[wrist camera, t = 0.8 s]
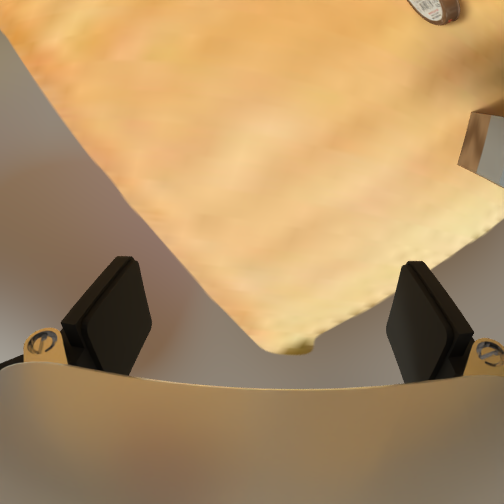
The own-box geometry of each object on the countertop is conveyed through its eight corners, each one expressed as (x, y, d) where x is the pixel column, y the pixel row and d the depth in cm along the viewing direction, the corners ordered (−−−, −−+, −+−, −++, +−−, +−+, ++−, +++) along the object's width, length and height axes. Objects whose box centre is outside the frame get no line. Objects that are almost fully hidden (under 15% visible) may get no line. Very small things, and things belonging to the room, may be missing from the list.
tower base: (470, 111, 31) (491, 115, 26) (507, 134, 31) (527, 140, 26) (456, 164, 34) (475, 172, 30) (493, 183, 35) (512, 193, 30)
